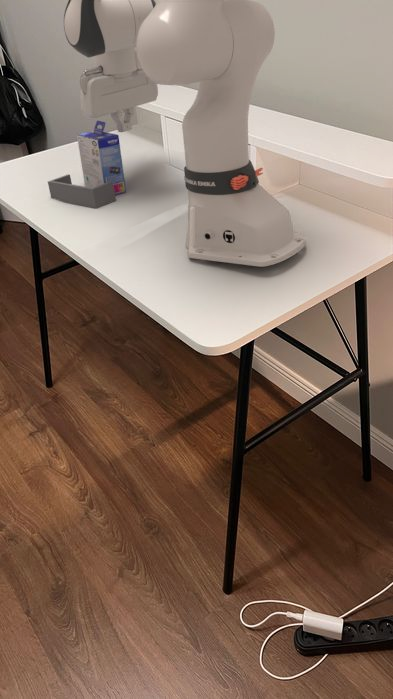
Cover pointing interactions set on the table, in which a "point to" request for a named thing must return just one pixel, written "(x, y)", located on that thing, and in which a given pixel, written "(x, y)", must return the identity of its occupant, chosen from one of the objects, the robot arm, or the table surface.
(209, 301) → the table surface
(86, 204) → the bay
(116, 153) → the ink cartridge box
